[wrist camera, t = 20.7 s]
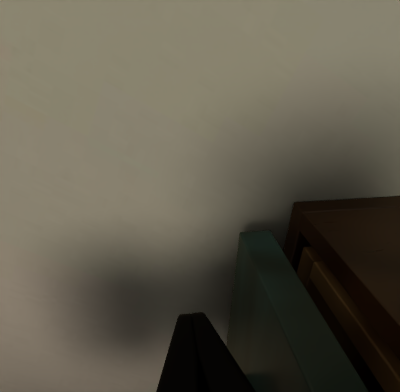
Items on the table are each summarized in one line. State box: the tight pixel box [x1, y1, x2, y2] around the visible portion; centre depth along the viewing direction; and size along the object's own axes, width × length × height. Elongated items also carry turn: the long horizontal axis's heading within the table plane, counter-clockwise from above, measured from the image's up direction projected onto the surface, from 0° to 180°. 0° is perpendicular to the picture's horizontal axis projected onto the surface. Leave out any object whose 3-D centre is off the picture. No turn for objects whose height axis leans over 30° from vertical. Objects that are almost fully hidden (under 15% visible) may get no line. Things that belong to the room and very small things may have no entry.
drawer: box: [226, 230, 400, 392], centre depth 12 cm, size 15×11×6 cm
